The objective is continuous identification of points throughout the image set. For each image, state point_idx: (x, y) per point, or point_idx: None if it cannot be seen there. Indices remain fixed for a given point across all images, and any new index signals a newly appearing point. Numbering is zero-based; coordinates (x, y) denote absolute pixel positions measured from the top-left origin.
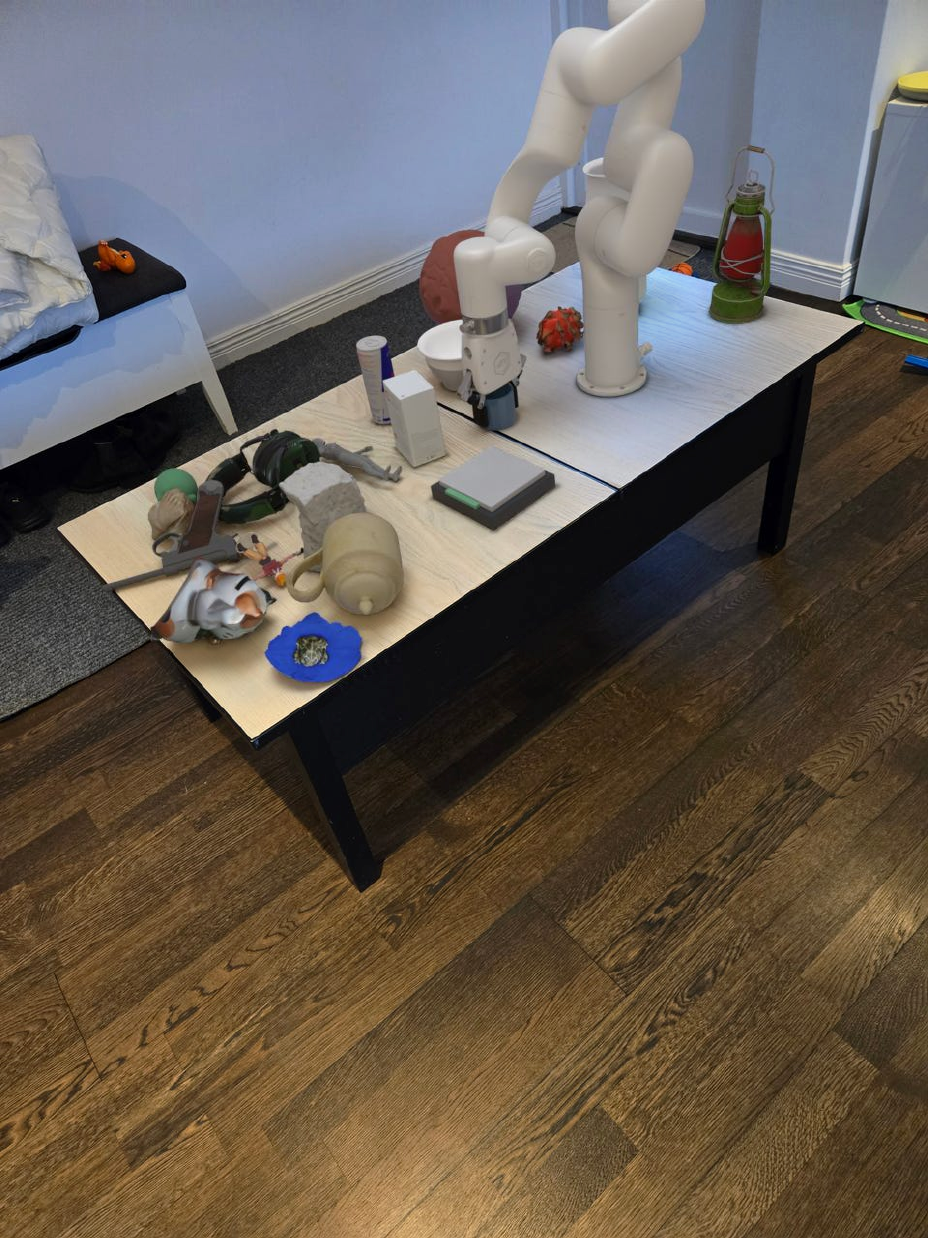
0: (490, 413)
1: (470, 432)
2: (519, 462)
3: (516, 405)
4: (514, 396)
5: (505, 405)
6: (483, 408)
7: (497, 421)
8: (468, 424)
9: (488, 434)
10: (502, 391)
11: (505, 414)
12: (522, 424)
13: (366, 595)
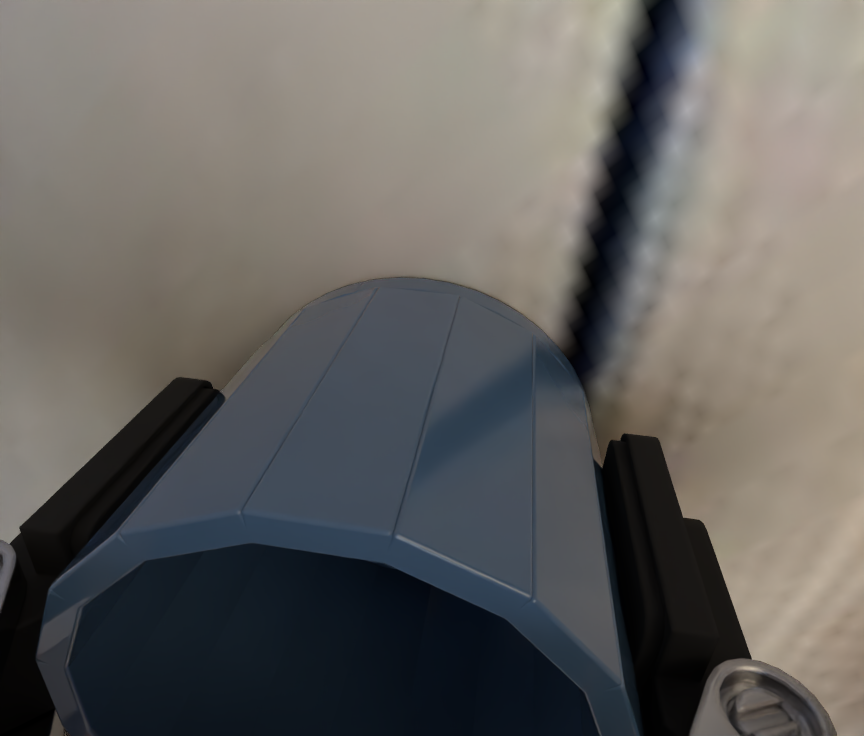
0: (603, 512)
1: None
2: None
3: (193, 396)
4: (142, 470)
5: (431, 430)
6: (710, 638)
7: (554, 389)
8: None
9: (658, 378)
10: (186, 620)
11: (459, 364)
12: (335, 190)
13: None
